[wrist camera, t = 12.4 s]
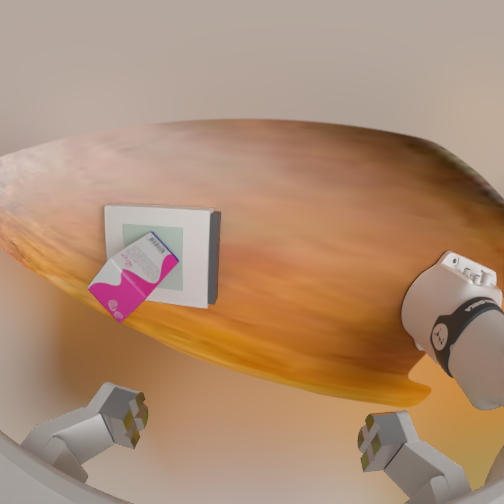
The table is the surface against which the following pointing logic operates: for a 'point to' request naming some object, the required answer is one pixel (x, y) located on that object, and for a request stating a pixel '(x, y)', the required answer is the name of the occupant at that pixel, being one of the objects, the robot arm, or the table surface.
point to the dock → (172, 247)
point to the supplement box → (132, 275)
